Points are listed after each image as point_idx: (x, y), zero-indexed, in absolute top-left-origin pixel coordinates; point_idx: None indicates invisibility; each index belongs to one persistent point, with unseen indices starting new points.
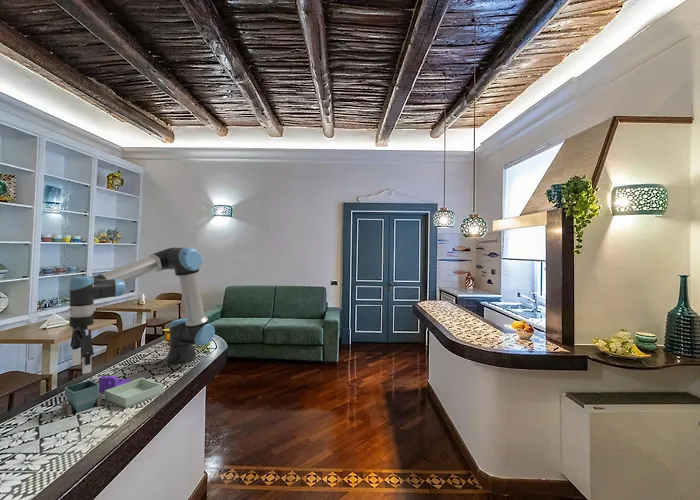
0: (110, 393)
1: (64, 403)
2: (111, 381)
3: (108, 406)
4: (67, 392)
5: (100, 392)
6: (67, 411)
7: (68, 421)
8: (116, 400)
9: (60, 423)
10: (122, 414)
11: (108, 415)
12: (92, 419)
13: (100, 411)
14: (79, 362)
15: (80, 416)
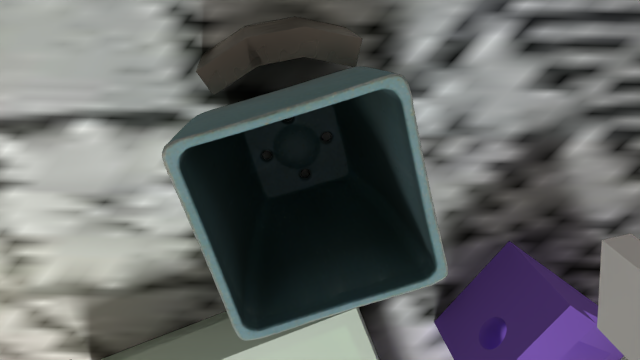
0: (273, 335)
1: (271, 48)
2: (482, 358)
3: (205, 281)
4: (319, 90)
5: (501, 250)
6: (203, 58)
7: (89, 54)
8: (197, 341)
9: (84, 3)
10: (3, 343)
11: (38, 276)
12: (27, 192)
13: (146, 238)
14: (618, 333)
15: (137, 128)
